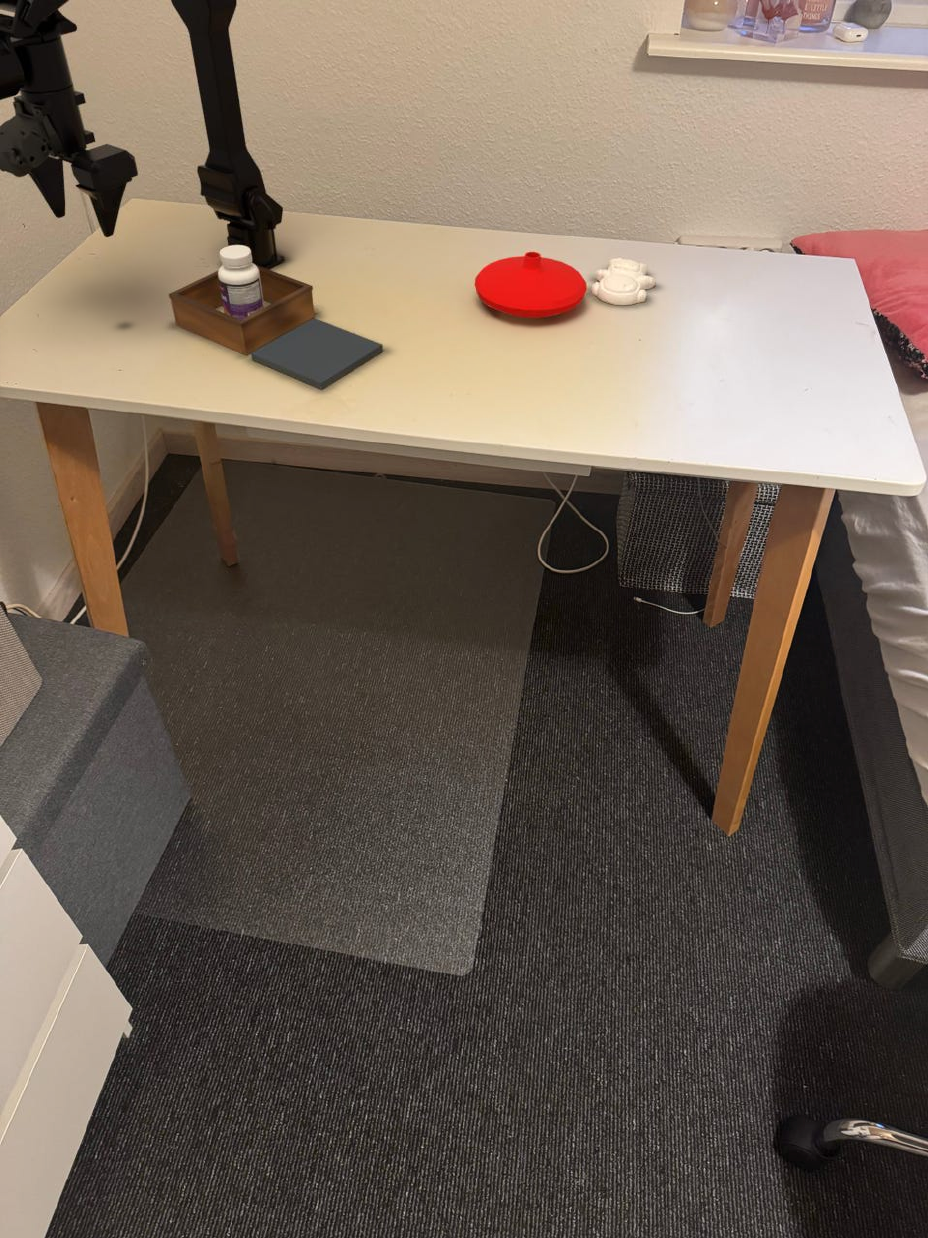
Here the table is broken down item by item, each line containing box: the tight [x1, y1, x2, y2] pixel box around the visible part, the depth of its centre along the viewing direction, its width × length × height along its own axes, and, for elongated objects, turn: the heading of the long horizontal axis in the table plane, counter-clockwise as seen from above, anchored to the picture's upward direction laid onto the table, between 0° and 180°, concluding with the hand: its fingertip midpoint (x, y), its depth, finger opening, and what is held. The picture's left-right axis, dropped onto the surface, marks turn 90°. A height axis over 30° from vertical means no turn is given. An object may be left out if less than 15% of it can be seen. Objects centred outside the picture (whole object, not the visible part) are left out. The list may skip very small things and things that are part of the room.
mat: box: [250, 317, 384, 391], centre depth 122 cm, size 12×12×1 cm
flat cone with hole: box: [474, 251, 588, 319], centre depth 131 cm, size 16×16×7 cm
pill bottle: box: [217, 245, 265, 320], centre depth 125 cm, size 5×5×10 cm
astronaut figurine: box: [591, 257, 657, 306], centre depth 137 cm, size 9×12×3 cm
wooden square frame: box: [168, 265, 316, 356], centre depth 127 cm, size 13×13×4 cm
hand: (84, 226), depth 115 cm, fingers open, 9 cm apart
